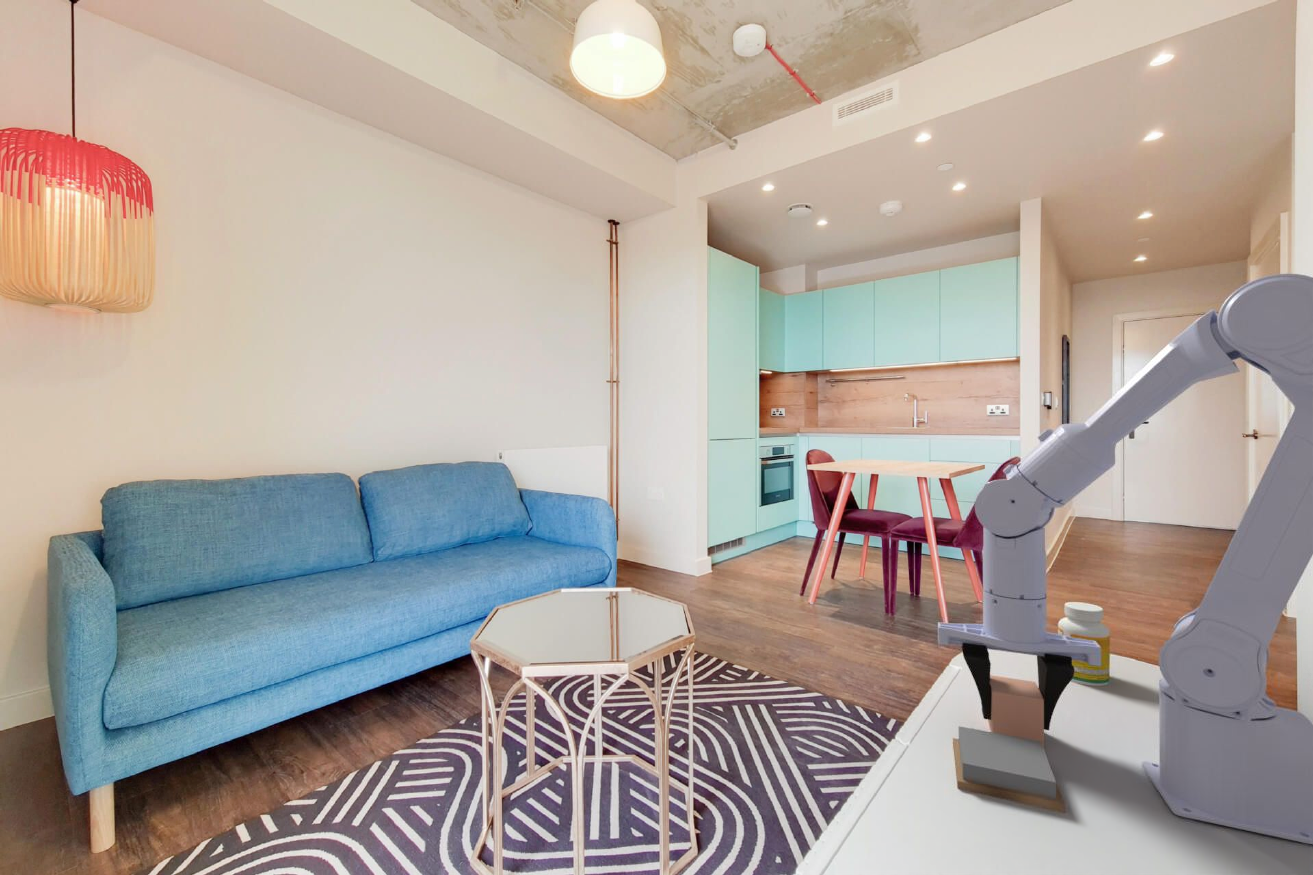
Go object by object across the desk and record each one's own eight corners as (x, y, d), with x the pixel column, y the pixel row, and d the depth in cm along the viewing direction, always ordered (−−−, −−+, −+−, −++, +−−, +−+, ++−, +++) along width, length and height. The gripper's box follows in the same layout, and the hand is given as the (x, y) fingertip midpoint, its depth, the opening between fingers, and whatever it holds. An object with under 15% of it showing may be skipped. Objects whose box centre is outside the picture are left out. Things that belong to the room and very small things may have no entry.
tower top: (1040, 756, 55) (1040, 741, 55) (1056, 799, 48) (1055, 782, 48) (958, 740, 58) (958, 726, 58) (962, 779, 51) (962, 762, 51)
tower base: (1046, 770, 55) (1045, 755, 55) (1065, 821, 48) (1065, 803, 48) (953, 752, 58) (952, 737, 58) (957, 797, 51) (957, 780, 51)
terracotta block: (1035, 728, 61) (1035, 681, 61) (1044, 748, 57) (1043, 699, 57) (987, 719, 63) (987, 674, 63) (992, 739, 59) (992, 691, 59)
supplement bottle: (1047, 673, 75) (1047, 601, 75) (1080, 669, 77) (1080, 598, 77) (1086, 691, 70) (1086, 613, 70) (1121, 687, 71) (1120, 610, 71)
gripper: (1087, 590, 61) (1088, 716, 61) (936, 576, 67) (937, 691, 67) (1107, 608, 54) (1107, 750, 54) (938, 591, 61) (939, 719, 61)
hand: (1014, 720), depth 60 cm, fingers closed on terracotta block, 4 cm apart
